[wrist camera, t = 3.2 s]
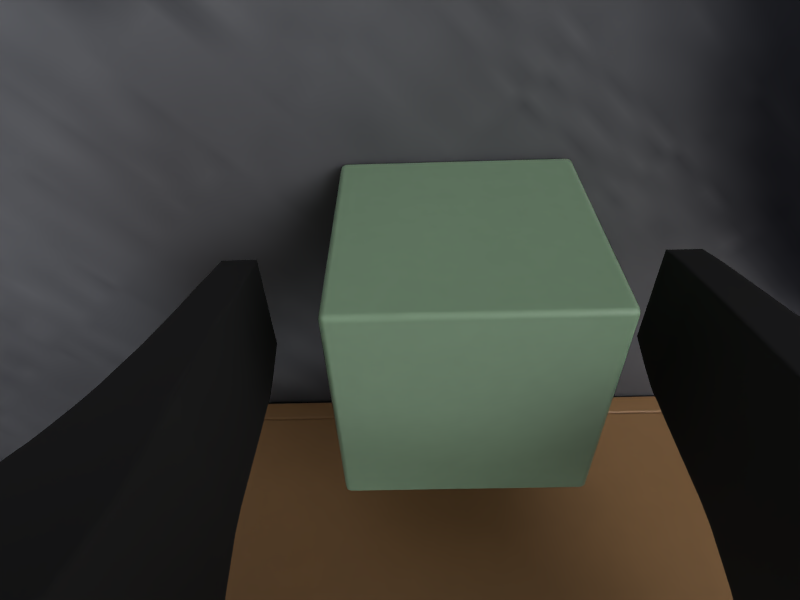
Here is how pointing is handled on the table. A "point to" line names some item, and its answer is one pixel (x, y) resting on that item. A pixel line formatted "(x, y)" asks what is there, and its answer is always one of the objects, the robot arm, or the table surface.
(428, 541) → the carton
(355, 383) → the cube
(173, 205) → the table surface
